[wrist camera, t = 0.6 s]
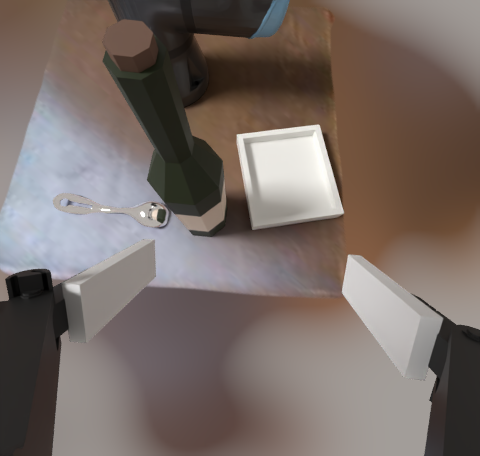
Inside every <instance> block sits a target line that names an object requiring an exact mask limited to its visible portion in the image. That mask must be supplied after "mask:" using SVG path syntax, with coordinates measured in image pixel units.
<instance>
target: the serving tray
mask: <svg viewBox="0 0 480 456" xmlns="http://www.w3.org/2000/svg"><path fill="white" fill-rule="evenodd" d="M237 147H238V153H239V159H240V164H241V170H242V176H243V181H244V187H245V193H246V198H247V204H248V210H249V215H250V221H251V227H252V230H256V229H263V228H269V227H276V226H283V225H290V224H296V223H303V222H310V221H316V220H323V219H330V218H337V217H339V216H341V215H342V214H344V211H343V208H342V204H341V200H340V197H339V193H338V190H337V186H336V183H335V179H334V175H333V172H332V168H331V165H330V161H329V158H328V154H327V150H326V147H325V143H324V140H323V136H322V133H321V129H320V126H319V125H312V126H304V127H296V128H287V129H279V130H271V131H262V132H254V133H246V134H237Z"/></svg>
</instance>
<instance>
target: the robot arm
mask: <svg viewBox="0 0 480 456" xmlns="http://www.w3.org/2000/svg"><path fill="white" fill-rule="evenodd" d="M289 1H290V0H108V2H109V4H110V6H111V8H112V11H113V13H114V15H115V17H116V19H117V22H119V21H121V20H123V19H126V20H135V21H143V22H144V24H145V25H146V26H147V27H148V28H149V29H150V30H151V31H152V32H153V34H154V35H155V36H156V37H157V38H158V39H159V40H160V41H161V42H162V43H163V44H164V46H165V47H166V48H167V50H168V54H169V57H170V61H171V64H172V68H173V71H174V75H175V78H176V82H177V85H178V89H179V92H180V96H181V99H182V103H183V106H184V107H185V106H188V105H190V104H192V103H194V102H195V101H197V100H198V99H199V98H200V97H201V96H202V95H203V94H204V92H205V91H206V89H207V86H208V83H209V74H208V66H207V62H206V59H205V57H204V55H203V53H202V51H201V49H200V47H199V45H198V43H197V40H196V38H195V36H194V33H197V34H209V35H221V36H233V37H245V38H248V39H250V38H251V39H252V38H254V37H270V36H272V35H274V34H275V33H276V32H277V30H278V29H279V27H280V26H281V24H282V21H283V19H284V16H285V14H286V11H287V8H288V4H289ZM155 277H156V265H155V240H150V239H143V240H141V241H139V242H137V243H136V244H134V245H132V246H130V247H128V248H126V249H124V250H123V251H121V252H119V253H117V254H115V255H113V256H111V257H110V258H108V259H106V260H104V261H102V262H100V263H98V264H96V265H95V266H93V267H91V268H89V269H87V270H84V271H83V272H81V273H79V274H78V275H75V276H73V277H71V278H70V279H68V280H66V281H64V282H62V283H60V284H58V285H56V286H54V287H53V285H52V278H51V272H50V270H47V269H32V270H27V271H22V272H19V273H15V274H13V275H11V276H9V277H7V278H6V279H5V280H6V285H7V290H8V295H9V300H8V301H2V302H0V456H52V448H53V436H54V424H55V412H56V400H57V388H58V377H59V364H60V353H61V338H60V335H62V334H63V333H64V332H65V331H67V330H68V332H69V339H70V342H80V343H87V342H88V341H89V340H90V339H92V337H94V336H95V334H97V333H98V332H99V331H100V330H101V329H102V328H103V327H104V326H105V325H106V324H107V323H108V322H109V321H110V320H111V319H112V318H113V317H114V316H115V315H116V314H117V313H119V311H121V310H122V309H123V308H124V307H125V306H126V305H127V304H128V303H129V302H130V301H131V300H132V299H133V298H134V297H135V296H136V295H137V294H138V293H139V292H140V291H141V290H142V289H143V288H144V287H145V286H146V285H148V284H149V283H150V282H151V281H152V280H153V279H154V278H155ZM342 294H343V295H344V296H345V298H346V299H347V300H348V302H349V303H350V304H351V306H352V307H353V309H354V310H355V311H356V313H357V314H358V316H359V317H360V318H361V319H362V321H363V322H364V324H365V325H366V326H367V327H368V329H369V330H370V332H371V333H372V335H373V336H374V337H375V339H376V340H377V341H378V343H379V344H380V346H381V347H382V348H383V350H384V351H385V353H386V354H387V355H388V357H389V358H390V359H391V361H392V362H393V363H394V365H395V366H396V368H397V369H398V370H399V372H400V373H401V374H402V376H403V377H404V378H406V379H416V380H425V378H426V375H427V371H428V368H430V369H431V370H432V371H433V372H434V373H435V374H436V375H437V378H436V381H435V384H434V387H433V391H432V394H431V397H430V401H431V402H432V405H431V412H430V419H429V426H428V433H427V441H426V447H425V454H424V456H480V330H479V329H476V328H473V327H469V326H465V325H456V324H455V323H453V322H452V321H451V320H449V319H448V318H447V317H445V316H444V315H442V314H441V313H440V312H438V311H436V309H434V308H433V307H431V306H430V305H429V304H428V303H426V302H425V301H424V300H422V299H421V298H419V297H417V296H415V295H413V294H411V293H409V292H408V291H407V290H405V289H404V288H403V287H401V286H400V285H399V284H397V283H396V282H395V281H393V280H392V279H391V278H389V277H388V276H387V275H386V274H384V273H383V272H382V271H380V270H379V269H378V268H376V267H375V266H374V265H372V264H371V263H369V262H368V261H367V260H366V259H364V258H363V257H362V256H359V255H348V260H347V266H346V271H345V277H344V283H343V289H342Z"/></svg>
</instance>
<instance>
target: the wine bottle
mask: <svg viewBox="0 0 480 456" xmlns="http://www.w3.org/2000/svg"><path fill="white" fill-rule="evenodd" d="M102 43H103V45H104V47H105V49H106V52H105V55H104V58H103V63H104V64H105V66H106V68H107V69H108V71H109V73H110V74H111V76H112V78H113V79H114V81H115V83H116V84H117V86H118V88H119V89H120V91H121V93H122V95H123V96H124V98H125V100H126V101H127V103H128V105H129V106H130V108H131V110H132V111H133V113H134V115H135V116H136V118H137V120H138V121H139V123H140V125H141V126H142V128H143V130H144V132H145V133H146V135H147V137H148V138H149V140H150V142H151V143H152V145H153V147H154V148H155V150H154V152H153V155H152V160H151V164H150V169H149V173H148V178H147V181H148V182H149V183H150V185H151V186H152V187H153V188H154V190H155V191H156V192H157V193H158V195H159V196H160V197H161V199H162V200H163V201H164V202H165V204H166V205H167V206H168V207H169V208H170V209H171V210H172V212H173V213H174V214H175V215H176V216H177V217H178V218H179V220H180V221H181V222H182V223H183V224H184V225H185V226H186V228H187V229H188V230H189V231H190V232H191V233H192V234H193V235H197V236H207V237H211V236H213V235H214V234H215V233H217V232H218V231H219V230H221V229H222V228H223V227H224V226H225V222H226V214H227V203H226V192H225V181H224V170H223V161H222V160H221V158H220V157H219V156H218V155H217V154H216V153H215V152H214V150H213V149H212V148H211V147H210V146H209V145H208V144H207V142H206V141H204V140H202V139H199V138H197V137H194V136H192V134H191V130H190V127H189V124H188V120H187V117H186V113H185V110H184V106H183V103H182V99H181V96H180V92H179V89H178V85H177V82H176V78H175V75H174V71H173V68H172V64H171V61H170V57H169V54H168V50H167V48H166V47H165V46H164V44H163V43H162V42H161V41H160V40H159V39H158V38H157V37H156V36H155V35H154V34H153V32H152V31H151V30H150V29H149V28H148V27H147V26H146V25H145V24H144V22H143V21H135V20H126V19H123V20H121V21H119V22H117V23H115V24H113V25H111V26H110V27H108V28H107V29H106V32H105V35H104V38H103V41H102Z"/></svg>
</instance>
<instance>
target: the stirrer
mask: <svg viewBox="0 0 480 456" xmlns="http://www.w3.org/2000/svg"><path fill="white" fill-rule="evenodd" d="M63 199H69V200H70V201H72V202H77V203H82V204H88V205H93V206H92V209H90V208H84V207H79V206H73V205H68V206H66V207H64V206H62V205H61V200H63ZM53 204H54V206H55V208H57V209H58V210H60V211H63V212H67V213H74V214H89V213H96V212H102V213H125V214H128V215H130V216H131V217H133V218H134V219H135V220H136V221H137V222H139V223H140V224H142V225H144V226H147V227H161V226H164V225H166V224H167V221H168V217H169V211H168V209H167V208H166V207H165V206H164V205H163V204H161V203H159V202H156V201H146V202H143V203H140V204H138V205H136V206H133V207H129V208H115V207H110V206H104V205H100V204H98V203H96V202H94V201H92V200H90V199H87V198H84V197H81V196H78V195H75V194H69V193H62V194H59V195H57V196H56V197H55V198H54V199H53Z"/></svg>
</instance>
